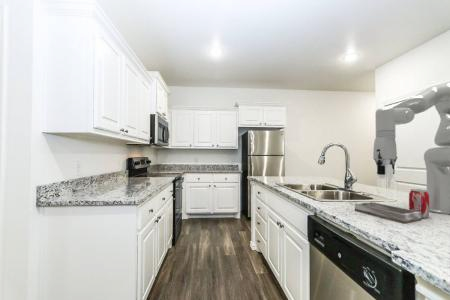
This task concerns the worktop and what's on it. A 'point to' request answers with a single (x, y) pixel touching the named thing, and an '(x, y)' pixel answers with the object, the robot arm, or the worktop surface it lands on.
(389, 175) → the downlight
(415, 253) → the worktop surface
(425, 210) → the soda can
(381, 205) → the silver picture frame
